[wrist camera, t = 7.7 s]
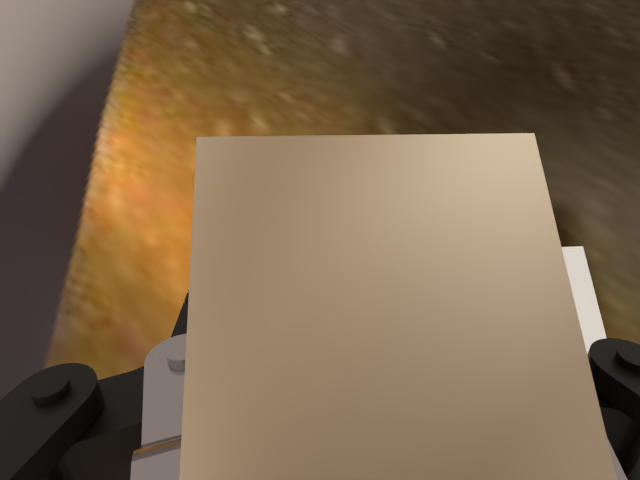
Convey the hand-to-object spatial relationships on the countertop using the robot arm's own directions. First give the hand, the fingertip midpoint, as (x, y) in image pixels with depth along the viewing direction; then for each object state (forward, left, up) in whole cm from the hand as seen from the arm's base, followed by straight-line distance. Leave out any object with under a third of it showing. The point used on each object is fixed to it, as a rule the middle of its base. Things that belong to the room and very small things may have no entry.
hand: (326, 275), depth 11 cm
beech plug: (0, +2, -5) cm, 5 cm away
